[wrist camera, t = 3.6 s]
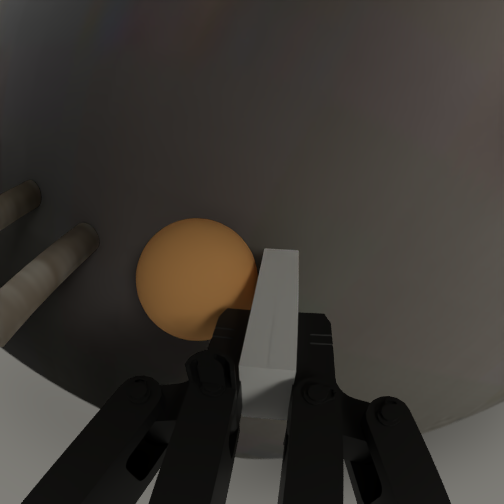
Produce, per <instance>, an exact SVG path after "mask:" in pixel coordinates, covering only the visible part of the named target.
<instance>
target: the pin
mask: <svg viewBox="0 0 504 504" xmlns="http://www.w3.org/2000/svg"><path fill="white" fill-rule="evenodd" d="M40 203H41V193H40V189H39V187H38V185H37V184H36V183H35V182H34V181H32V180H28V181H26V182H24V183H22V184H20V185H18V186H16V187H14V188H12V189H10V190H8V191H6V192H4V193H2V194H0V231H1V230H3V229H4V228H5V227H7V226H8V225H10V224H11V223H13V222H15V221H16V220H18V219H19V218H21V217H22V216H24V215H25V214H27V213H29V212H30V211H32V210H33V209H35V208H37V207H38V206H39V205H40Z"/></svg>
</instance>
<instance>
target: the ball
mask: <svg viewBox="0 0 504 504" xmlns="http://www.w3.org/2000/svg"><path fill="white" fill-rule="evenodd" d="M257 281H258V273H257V267H256V263H255V260H254V257H253V255H252V252H251V251H250V249H249V247H248V246H247V244H246V243H245V242H244V240H243V239H242V238H241V237H240V236H239V235H238V234H237V233H236V232H234V231H233V230H232V229H230V228H229V227H227V226H225V225H223V224H221V223H219V222H216V221H213V220H209V219H201V218H190V219H184V220H180V221H177V222H174V223H172V224H170V225H168V226H166V227H164V228H163V229H161V230H160V231H159V232H157V233H156V234H155V235H154V236H153V237H152V238H151V239H150V240H149V242H148V243H147V245H146V246H145V248H144V250H143V251H142V253H141V256H140V259H139V262H138V265H137V270H136V287H137V292H138V297H139V300H140V302H141V304H142V307H143V309H144V310H145V312H146V313H147V315H148V316H149V318H150V319H151V320H152V321H153V322H154V323H155V324H156V325H157V326H158V327H159V328H161V329H162V330H163V331H165V332H167V333H169V334H171V335H173V336H175V337H178V338H180V339H185V340H192V341H204V340H210V339H211V338H212V335H213V332H214V329H215V326H216V323H217V321H218V318H219V316H220V315H221V314H222V313H223V312H224V311H225V310H226V309H227V308H233V309H245V310H250V309H251V307H252V304H253V299H254V294H255V290H256V285H257Z"/></svg>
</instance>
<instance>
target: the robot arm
mask: <svg viewBox="0 0 504 504" xmlns="http://www.w3.org/2000/svg"><path fill="white" fill-rule="evenodd" d="M298 292H299V250H285V249H268V248H264V253H263V257H262V262H261V267H260V271H259V276H258V281H257V285H256V290H255V294H254V299H253V304H252V308H251V310H245V309H233V308H227V309H226V310H225V311H224V312H223V313H222V314H221V315H220V316H219V318H218V321H217V323H216V326H215V329H214V332H213V335H212V338H211V341H210V344H209V347H208V350H205V351H201V352H198V353H196V354H194V355H193V356H191V357H190V358H189V359H188V361H187V362H186V364H185V367H186V371H187V375H188V378H189V381H187V382H184V383H180V384H172V385H159V383H158V382H157V381H156V380H154V379H153V378H151V377H147V376H135V377H133V378H130V379H128V380H127V381H125V382H124V383H123V384H122V385H121V386H120V387H119V388H118V390H117V391H116V392H115V393H114V394H113V395H112V396H111V398H110V399H109V400H108V401H107V402H106V403H105V405H104V406H103V407H102V408H101V409H100V410H99V412H98V413H97V414H96V415H95V416H94V418H93V419H92V420H91V421H90V422H89V423H88V424H87V426H86V427H85V428H84V429H83V430H82V431H81V433H80V434H79V435H78V436H77V437H76V439H75V440H74V441H73V442H72V443H71V444H70V446H69V447H68V448H67V449H66V450H65V451H64V453H63V454H62V455H61V456H60V458H59V459H58V460H57V461H56V462H55V463H54V464H53V466H52V467H51V468H50V469H49V471H48V472H47V473H46V474H45V475H44V476H43V478H42V479H41V480H40V481H39V483H38V484H37V485H36V486H35V487H34V488H33V490H32V491H31V492H30V493H29V494H28V496H27V497H26V498H25V499H24V500H23V502H22V503H21V504H136V502H137V500H138V499H139V498H140V496H141V495H142V494H143V492H144V491H145V489H146V488H147V486H148V485H149V483H150V482H151V481H152V479H153V478H154V476H155V475H156V473H157V472H158V470H159V469H160V471H159V474H158V477H157V480H156V483H155V486H154V489H153V492H152V495H151V498H150V501H149V504H225V502H226V498H227V493H228V488H229V483H230V478H231V473H232V468H233V463H234V458H235V453H236V448H237V443H238V438H239V433H240V426H239V423H240V418H241V413H242V416H245V417H254V418H264V419H276V420H287V428H286V434H285V439H284V444H283V445H284V452H283V463H282V471H281V480H280V489H279V496H278V504H343V459H344V460H345V464H346V467H347V470H348V474H349V477H350V480H351V484H352V487H353V491H354V494H355V497H356V501H357V504H451V503H450V500H449V497H448V495H447V493H446V490H445V488H444V485H443V483H442V480H441V478H440V476H439V473H438V471H437V469H436V466H435V464H434V462H433V460H432V457H431V455H430V453H429V451H428V448H427V446H426V444H425V442H424V439H423V437H422V435H421V433H420V431H419V429H418V427H417V425H416V422H415V420H414V418H413V416H412V414H411V412H410V410H409V408H408V407H407V406H406V404H405V403H404V402H402V401H401V400H399V399H398V398H395V397H390V396H385V397H379V398H377V399H375V400H373V401H372V402H371V403H369V402H365V401H361V400H358V399H354V398H352V397H349V396H348V395H346V394H345V393H343V392H342V390H341V389H340V388H339V387H338V385H337V383H336V379H335V367H334V354H333V346H332V344H333V342H332V331H331V323H330V322H329V320H328V319H327V317H326V316H325V314H317V313H299V312H298ZM160 467H161V468H160Z"/></svg>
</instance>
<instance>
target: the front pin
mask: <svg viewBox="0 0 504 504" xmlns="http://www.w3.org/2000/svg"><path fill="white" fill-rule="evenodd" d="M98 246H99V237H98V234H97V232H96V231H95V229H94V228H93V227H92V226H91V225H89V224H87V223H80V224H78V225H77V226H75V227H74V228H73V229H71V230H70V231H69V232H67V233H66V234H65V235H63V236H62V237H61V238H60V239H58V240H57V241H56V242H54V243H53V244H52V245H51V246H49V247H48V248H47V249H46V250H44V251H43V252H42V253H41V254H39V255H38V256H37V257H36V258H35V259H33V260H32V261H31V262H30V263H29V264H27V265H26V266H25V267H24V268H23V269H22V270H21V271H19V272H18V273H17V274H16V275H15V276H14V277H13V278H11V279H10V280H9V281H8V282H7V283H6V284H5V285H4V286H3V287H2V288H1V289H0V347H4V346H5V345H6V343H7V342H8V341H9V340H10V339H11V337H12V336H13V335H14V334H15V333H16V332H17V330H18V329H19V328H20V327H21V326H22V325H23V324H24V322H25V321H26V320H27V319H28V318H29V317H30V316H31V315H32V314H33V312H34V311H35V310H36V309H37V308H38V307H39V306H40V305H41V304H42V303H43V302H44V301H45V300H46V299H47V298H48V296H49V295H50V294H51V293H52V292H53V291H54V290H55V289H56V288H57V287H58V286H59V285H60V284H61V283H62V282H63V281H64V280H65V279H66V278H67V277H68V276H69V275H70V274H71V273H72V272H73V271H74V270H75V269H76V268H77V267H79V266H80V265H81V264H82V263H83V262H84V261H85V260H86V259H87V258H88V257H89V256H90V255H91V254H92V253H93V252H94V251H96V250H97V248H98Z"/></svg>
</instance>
